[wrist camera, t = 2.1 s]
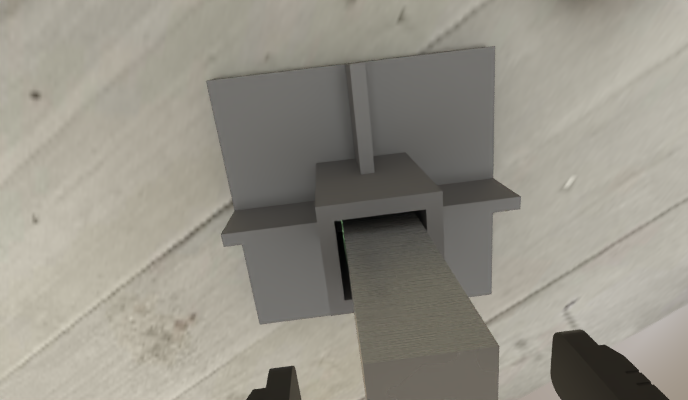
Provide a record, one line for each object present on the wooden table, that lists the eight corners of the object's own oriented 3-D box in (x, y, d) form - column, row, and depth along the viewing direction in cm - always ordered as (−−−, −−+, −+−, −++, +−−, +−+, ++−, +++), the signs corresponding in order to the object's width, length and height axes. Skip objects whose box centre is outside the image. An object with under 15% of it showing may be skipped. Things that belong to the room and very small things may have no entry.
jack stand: (262, 312, 32) (228, 459, 20) (212, 79, 26) (122, 94, 14) (483, 284, 32) (578, 411, 20) (485, 47, 26) (621, 34, 14)
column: (342, 230, 28) (373, 464, 12) (335, 179, 26) (360, 362, 10) (394, 223, 28) (498, 447, 12) (390, 172, 26) (501, 344, 10)
